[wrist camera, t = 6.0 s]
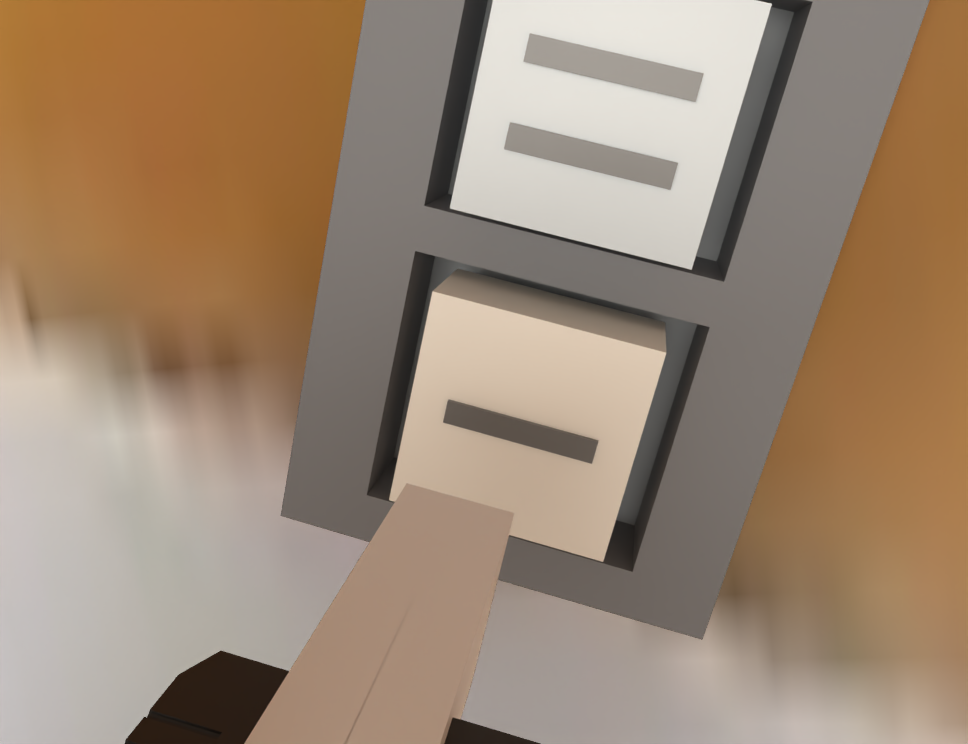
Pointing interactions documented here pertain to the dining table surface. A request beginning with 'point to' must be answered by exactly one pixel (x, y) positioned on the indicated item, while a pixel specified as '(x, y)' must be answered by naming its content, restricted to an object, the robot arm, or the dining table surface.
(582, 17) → the key
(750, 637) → the dining table surface
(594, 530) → the key
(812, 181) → the key board
